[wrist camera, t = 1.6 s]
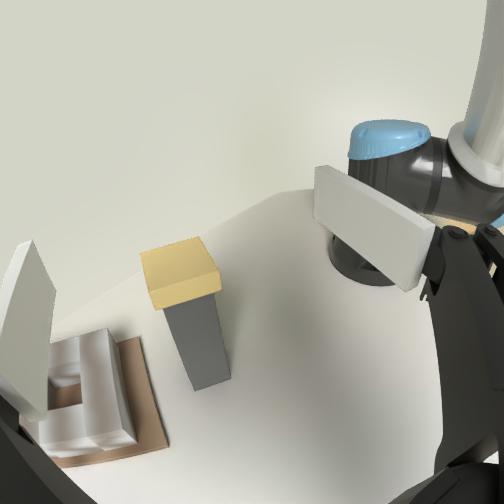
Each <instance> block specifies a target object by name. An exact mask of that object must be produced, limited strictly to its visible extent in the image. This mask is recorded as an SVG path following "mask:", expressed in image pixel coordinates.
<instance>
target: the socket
mask: <svg viewBox="0 0 504 504" xmlns="http://www.w3.org/2000/svg"><path fill="white" fill-rule="evenodd" d="M47 415H48V420H43V421H37V422H29V421H28V420H26V419H25V418H24V417H23V416H22V415H21V414H19V424H20V425H22V426H23V427H24V428H25V429H26V430H27V431H28V433H29V434H30V435H31V436H32V438H33V439H34V440H35V441H36V442H37V444H38V445H39V446H40V447H41V448H42V449H43V451H44V452H45V453H46V454H47V455H48V456H49V457H50V458H51V460H52V461H53V462H54V463H55V464H56V465H57V466H58V467H59V468H69V467H77V466H84V465H90V464H96V463H102V462H108V461H113V460H118V459H123V458H128V457H132V456H137V455H141V454H145V453H149V452H153V451H157V450H161V449H164V448H168V447H169V445H168V442H167V439H166V436H165V433H164V430H163V427H162V423H161V420H160V417H159V414H158V410H157V407H156V403H155V400H154V396H153V392H152V389H151V385H150V381H149V377H148V373H147V369H146V365H145V361H144V357H143V352H142V348H141V343H140V340H139V338H138V337H135V338H132V339H129V340H125V341H122V342H118V343H115V341H114V339H113V338H112V336H111V334H110V332H109V330H108V328H105V329H101V330H98V331H95V332H91V333H88V334H84V335H81V336H77V337H74V338H70V339H66V340H63V341H59V342H56V343H52V344H50V346H49V360H48V382H47Z"/></svg>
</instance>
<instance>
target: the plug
mask: <svg viewBox="0 0 504 504" xmlns="http://www.w3.org/2000/svg"><path fill="white" fill-rule="evenodd" d="M140 257H141V261H142V266H143V271H144V275H145V279H146V284H147V288H148V292H149V295H150V298H151V300H152V303H153V306H154V309H155V311H156V310H160V309H163V311H164V314H165V317H166V319H167V322H168V325H169V328H170V330H171V333H172V336H173V338H174V341H175V344H176V346H177V349H178V351H179V354H180V356H181V359H182V361H183V364H184V366H185V369H186V371H187V374H188V376H189V379H190V381H191V383H192V386H193V388H194V390H195V391H197V390H200V389H203V388H206V387H209V386H212V385H215V384H217V383H220V382H223V381H226V380H229V379H231V376H230V372H229V367H228V362H227V358H226V353H225V348H224V343H223V338H222V333H221V328H220V323H219V318H218V313H217V308H216V303H215V298H214V292H217V291H220V290H222V286H221V280H220V274H219V269H218V268H217V266H216V264H215V263H214V261H213V259H212V258H211V256H210V254H209V253H208V251H207V249H206V247H205V246H204V244H203V242H202V241H201V239H200V237H199V236H198V237H194V238H191V239H187V240H184V241H180V242H177V243H174V244H170V245H167V246H163V247H160V248H156V249H153V250H150V251H146V252H143V253H140Z"/></svg>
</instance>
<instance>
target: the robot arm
mask: <svg viewBox="0 0 504 504" xmlns="http://www.w3.org/2000/svg"><path fill="white" fill-rule="evenodd" d="M348 157H349V169H348V175H347V174H345V173H342V172H341V171H339V170H336V169H334V168H332V167H330V166H328V165H326V166H319V167H315V184H314V209H313V218H314V219H316V220H317V221H318V222H319V223H321V224H322V225H323V226H325V227H326V228H327V229H328V230H330V231H331V232H332V233H334V235H333V238H332V240H331V246H330V259H331V261H332V263H333V265H334V266H335V267H336V269H337V270H338V271H340V272H341V273H342V274H343V275H345V276H347V277H348V278H350V279H352V280H354V281H357V282H360V283H363V284H367V285H373V286H390V285H395V284H396V285H397V286H398V287H400V288H401V289H402V290H403V291H404V292H405V293H406V292H407V291H409V290H411V289H413V288H415V287H416V286H418V283H419V280H420V277H421V274H422V273H423V274H424V275H425V276H426V277H427V279H426V282H425V284H424V287H423V290H422V293H421V295H420V300H421V301H422V300H423V297H424V295H425V294H427V298H426V301H428V302H429V307H430V312H431V318H432V324H433V329H434V336H435V342H436V349H437V357H438V365H439V374H440V384H441V397H442V414H443V438H442V441H441V444H440V446H439V448H438V450H437V453H436V457H435V465H434V475H433V476H432V477H430V478H428V479H426V480H425V481H423V482H421V483H419V484H417V485H416V486H414V487H412V488H410V489H408V490H406V491H405V492H404V493H402V494H401V495H400V496H398V497H397V498H396V499H394V500H393V501H391V502H390V503H389V504H504V235H503V234H502V233H501V232H500V231H499V230H498V229H496V228H499V227H502V226H503V225H504V0H487V9H486V17H485V26H484V33H483V39H482V46H481V51H480V57H479V62H478V67H477V72H476V76H475V81H474V85H473V89H472V94H471V97H470V101H469V105H468V108H467V112H466V116H465V119H464V121H462V122H458V123H456V124H455V125H454V126H453V127H452V128H451V129H450V132H449V135H448V138H447V139H442V138H437V137H432V136H431V133H430V131H429V128H428V127H427V126H426V125H424V124H421V123H415V122H410V121H405V120H373V121H366V122H363V123H360V124H358V125H357V126H355V127H354V129H353V130H352V133H351V139H350V149H349V152H348ZM417 212H419V213H425V214H430V215H435V216H439V217H443V218H447V219H452V220H456V221H460V222H464V223H468V224H472V225H475V226H477V228H476V231H475V234H474V235H469V234H468V233H467V232H466V231H465V230H463V229H461V228H459V227H456V226H449V225H447V226H444V227H443V228H442V229H441V228H439V227H438V226H436V225H435V224H433V223H432V222H430V221H429V220H427V219H425V218H424V217H422V216H420V215H419V214H417ZM493 262H494V264H495V265H496V266H497V268H496V270H495V273H494V275H493V277H492V278H491V276H490V274H489V271H490V269H491V267H492V264H493ZM55 296H56V289H55V287H54V285H53V283H52V281H51V280H50V277H49V276H48V273H47V271H46V269H45V267H44V265H43V263H42V260H41V258H40V256H39V254H38V251H37V249H36V247H35V244H34V242H33V240H30V241H27V242H24V243H21V244H19V245H18V247H17V248H16V251H15V253H14V255H13V257H12V260H11V262H10V264H9V267H8V269H7V272H6V274H5V276H4V279H3V281H2V284H1V287H0V504H97V503H96V502H95V501H94V500H93V499H92V498H90V497H89V496H88V495H87V494H86V493H85V492H84V491H83V490H82V489H80V488H79V487H78V486H77V485H76V484H75V483H74V482H73V481H72V480H71V479H70V478H69V477H68V476H67V475H66V474H65V473H64V472H63V471H62V470H61V469H60V468H59V467H58V466H57V465H56V464H55V463H54V462H53V461H52V460H51V458H50V457H49V456H48V455H47V454H46V453H45V452H44V451H43V449H42V448H41V447H40V446H39V445H38V444H37V442H36V441H35V440H34V439H33V438H32V436H31V435H30V434H29V433H28V431H27V430H26V429H25V428H24V427H23V426H22V425H20V424H19V414H21V415H22V416H23V417H24V418H25V419H26V420H28V421H29V422H37V421H43V420H48V415H47V382H48V360H49V346H50V335H51V325H52V317H53V309H54V302H55ZM497 451H498V455H499V464H492V463H483V461H484V460H485V459H486V458H488V457H489V456H491V455H492V454H494V453H495V452H497Z"/></svg>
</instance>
